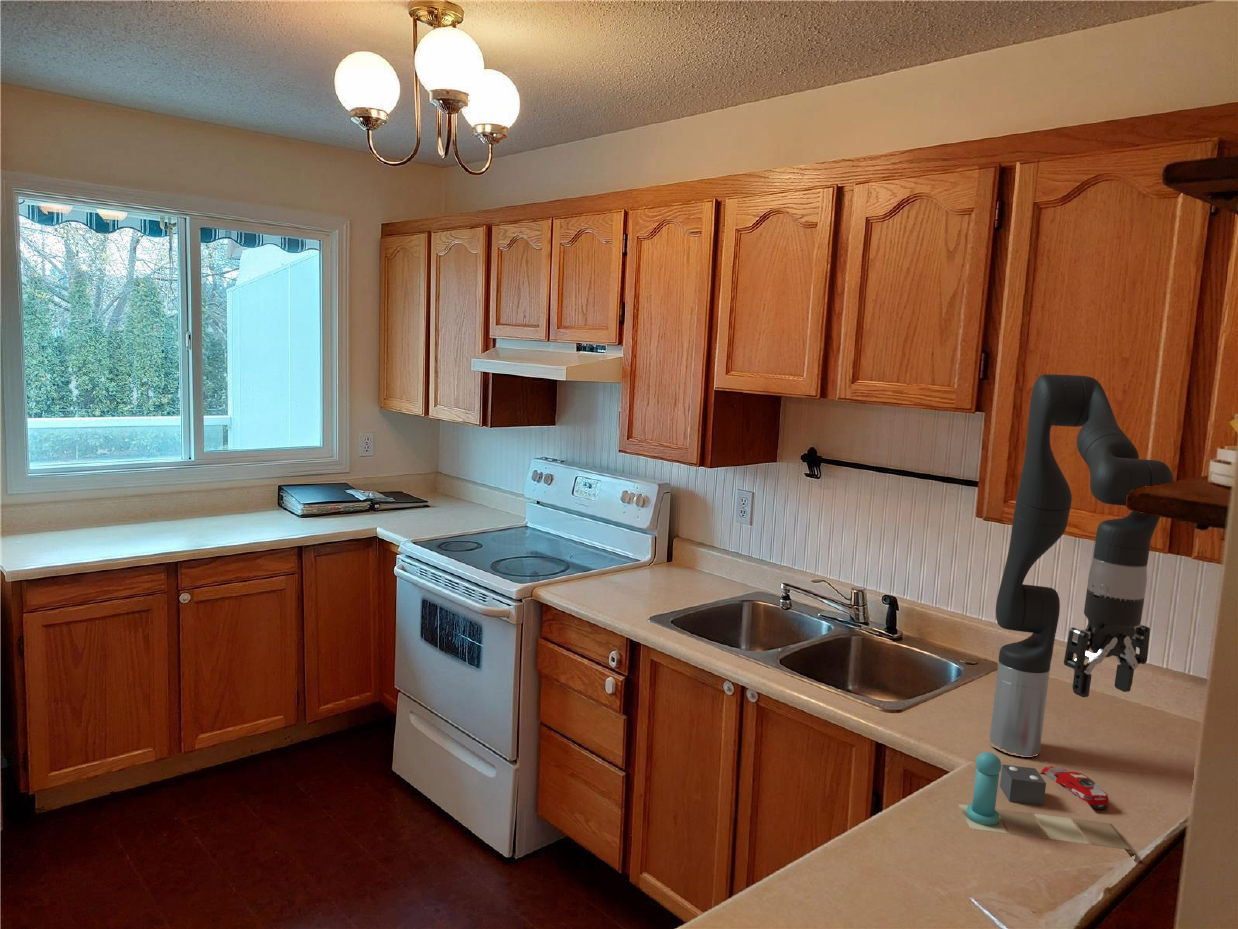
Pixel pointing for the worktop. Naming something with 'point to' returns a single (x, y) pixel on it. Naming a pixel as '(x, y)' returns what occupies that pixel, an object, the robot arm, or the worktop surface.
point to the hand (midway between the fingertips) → (1101, 692)
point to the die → (1022, 785)
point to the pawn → (985, 790)
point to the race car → (1078, 786)
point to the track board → (1055, 829)
